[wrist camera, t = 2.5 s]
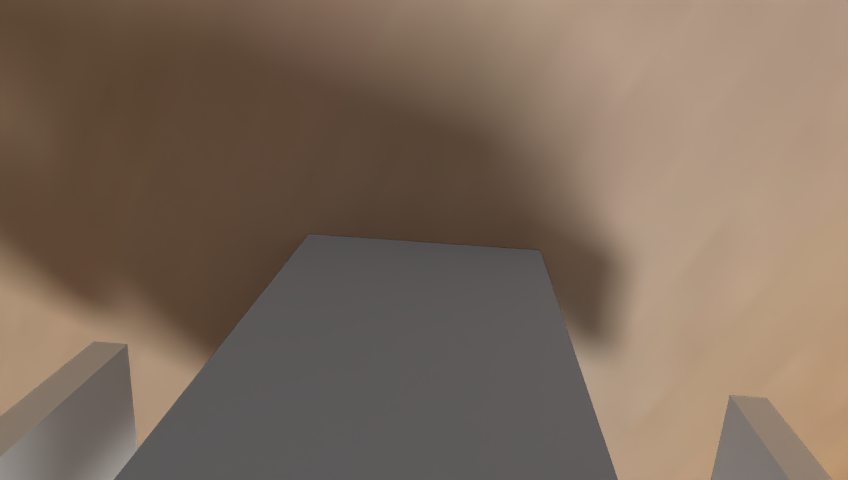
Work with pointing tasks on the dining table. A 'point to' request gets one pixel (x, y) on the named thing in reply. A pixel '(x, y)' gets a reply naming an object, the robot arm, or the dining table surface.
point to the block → (388, 375)
